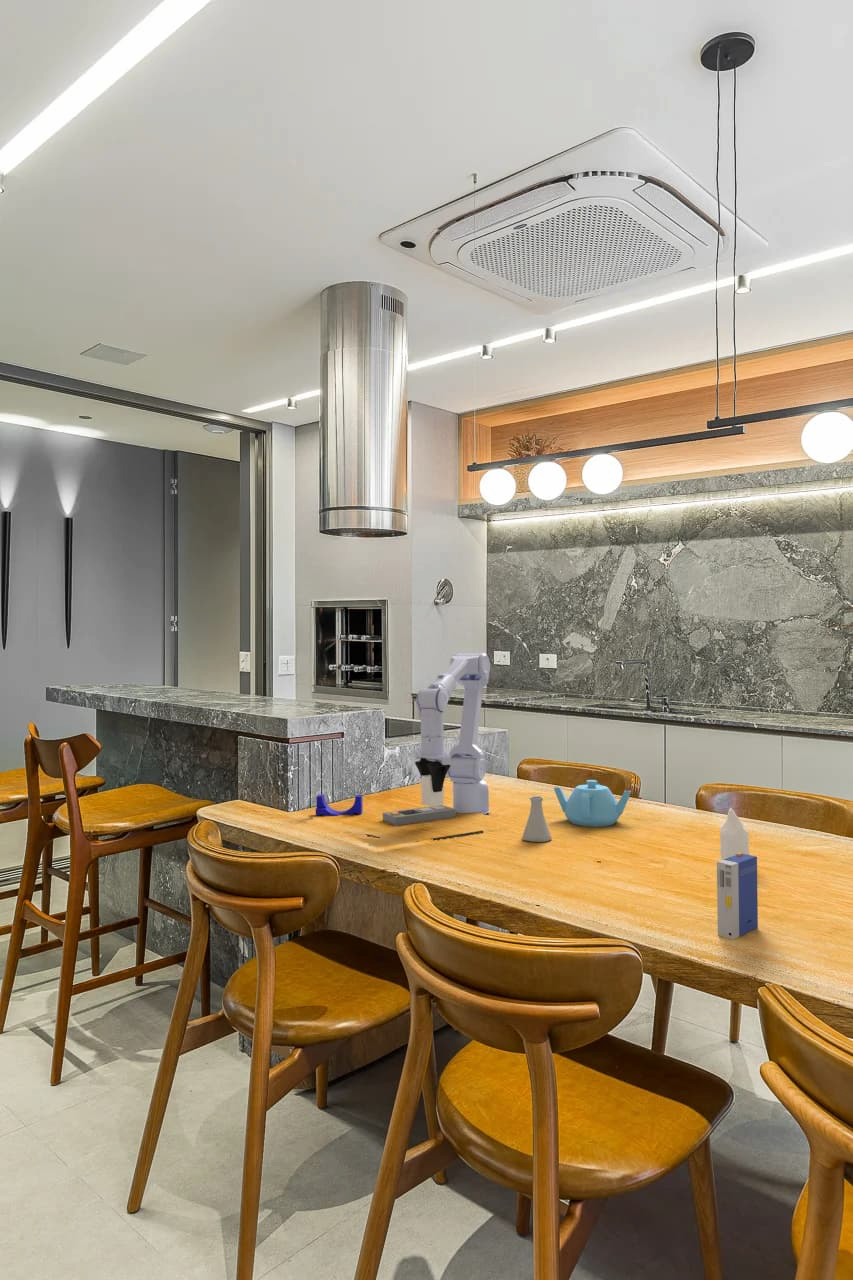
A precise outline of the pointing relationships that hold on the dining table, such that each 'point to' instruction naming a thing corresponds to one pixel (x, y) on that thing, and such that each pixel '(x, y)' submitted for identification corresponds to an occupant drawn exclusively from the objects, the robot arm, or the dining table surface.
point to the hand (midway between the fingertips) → (432, 790)
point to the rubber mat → (459, 835)
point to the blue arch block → (327, 811)
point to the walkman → (737, 895)
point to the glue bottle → (733, 837)
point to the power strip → (419, 815)
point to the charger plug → (430, 793)
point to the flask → (536, 823)
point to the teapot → (592, 805)
